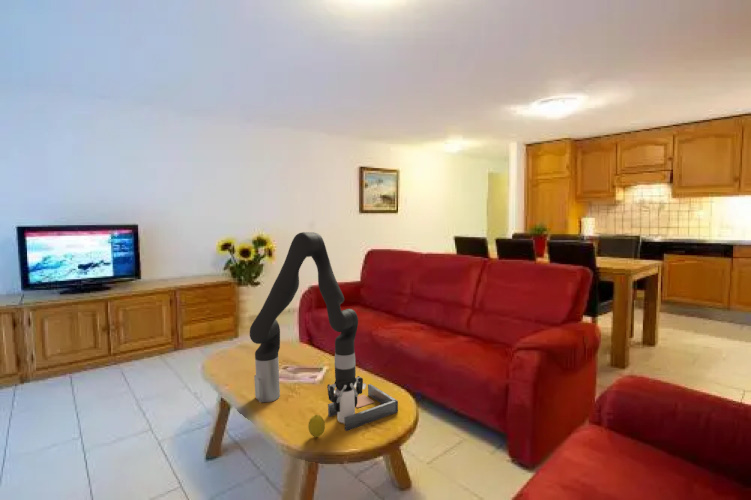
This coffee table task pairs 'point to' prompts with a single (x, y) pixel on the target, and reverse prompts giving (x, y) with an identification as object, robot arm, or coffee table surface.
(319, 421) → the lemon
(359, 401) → the pad
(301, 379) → the coffee table surface
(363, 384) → the white strips
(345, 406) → the can
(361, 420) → the guide rails
